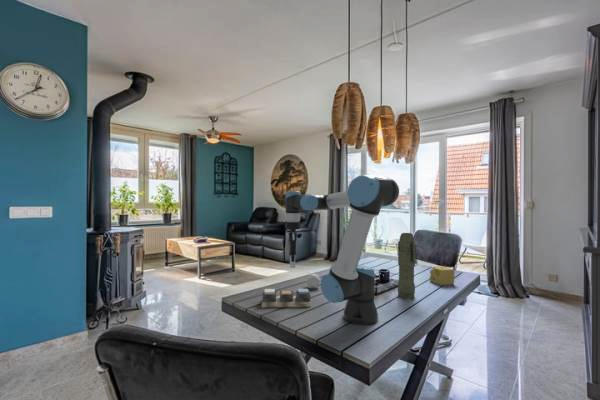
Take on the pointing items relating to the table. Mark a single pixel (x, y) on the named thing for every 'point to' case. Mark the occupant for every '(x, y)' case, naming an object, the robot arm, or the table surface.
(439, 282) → the cheese
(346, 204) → the robot arm
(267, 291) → the button cream
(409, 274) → the thermos
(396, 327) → the table surface
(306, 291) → the button slate
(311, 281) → the grey rounded lump
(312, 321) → the table surface
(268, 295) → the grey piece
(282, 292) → the button terracotta
